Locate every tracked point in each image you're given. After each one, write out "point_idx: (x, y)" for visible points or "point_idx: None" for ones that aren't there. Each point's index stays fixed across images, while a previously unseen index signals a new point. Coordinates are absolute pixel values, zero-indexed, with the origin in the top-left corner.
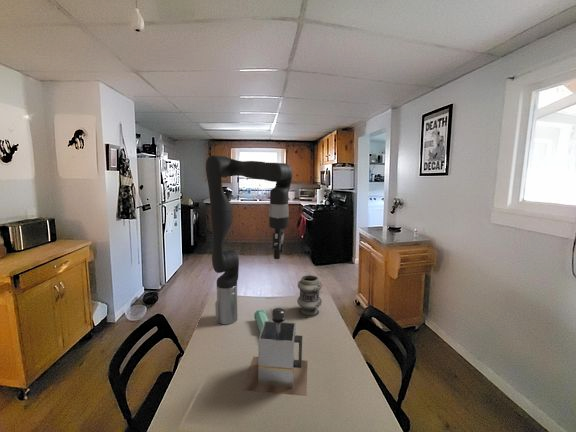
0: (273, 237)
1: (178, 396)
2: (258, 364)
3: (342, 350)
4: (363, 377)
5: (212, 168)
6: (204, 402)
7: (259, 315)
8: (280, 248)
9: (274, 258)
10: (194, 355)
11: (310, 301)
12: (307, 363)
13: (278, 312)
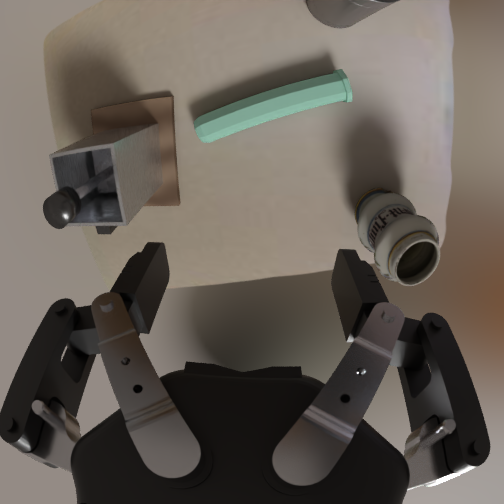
0: (9, 398)
1: (80, 24)
2: (82, 139)
3: (230, 263)
4: (170, 281)
5: None
6: (74, 64)
7: (322, 84)
8: (341, 296)
9: (150, 244)
10: None
11: (368, 232)
12: (170, 205)
13: (49, 214)
